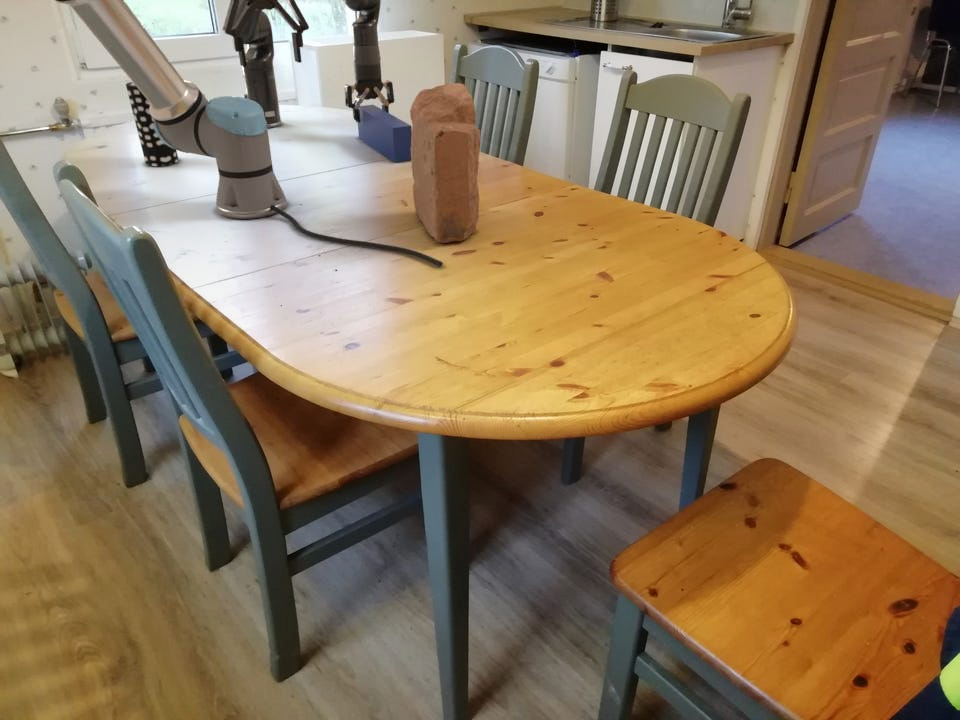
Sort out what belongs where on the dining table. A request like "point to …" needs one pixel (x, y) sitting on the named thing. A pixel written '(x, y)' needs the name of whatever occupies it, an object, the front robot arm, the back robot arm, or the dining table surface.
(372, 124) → the bar
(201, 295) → the dining table surface
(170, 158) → the black white spotted cylinder
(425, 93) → the stone
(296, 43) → the front robot arm
